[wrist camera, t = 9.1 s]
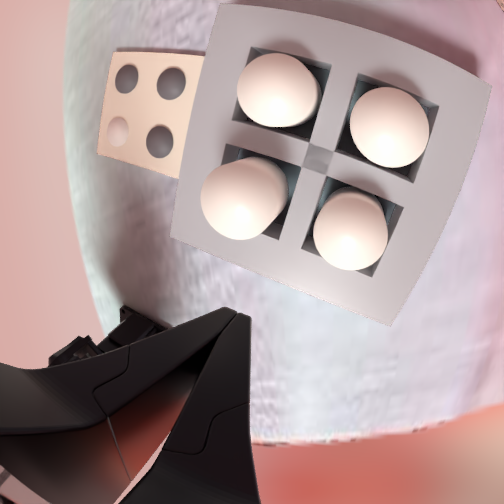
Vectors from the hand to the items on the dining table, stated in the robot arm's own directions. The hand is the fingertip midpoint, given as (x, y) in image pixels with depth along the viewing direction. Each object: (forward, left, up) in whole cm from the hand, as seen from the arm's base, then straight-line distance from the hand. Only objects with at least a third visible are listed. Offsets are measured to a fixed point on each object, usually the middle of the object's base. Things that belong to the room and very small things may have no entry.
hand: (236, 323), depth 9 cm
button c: (+7, -3, -12) cm, 14 cm away
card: (+4, +14, -12) cm, 19 cm away
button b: (+1, +3, -10) cm, 11 cm away
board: (+4, 0, -12) cm, 13 cm away
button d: (+7, +3, -12) cm, 14 cm away
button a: (+1, -3, -12) cm, 12 cm away
